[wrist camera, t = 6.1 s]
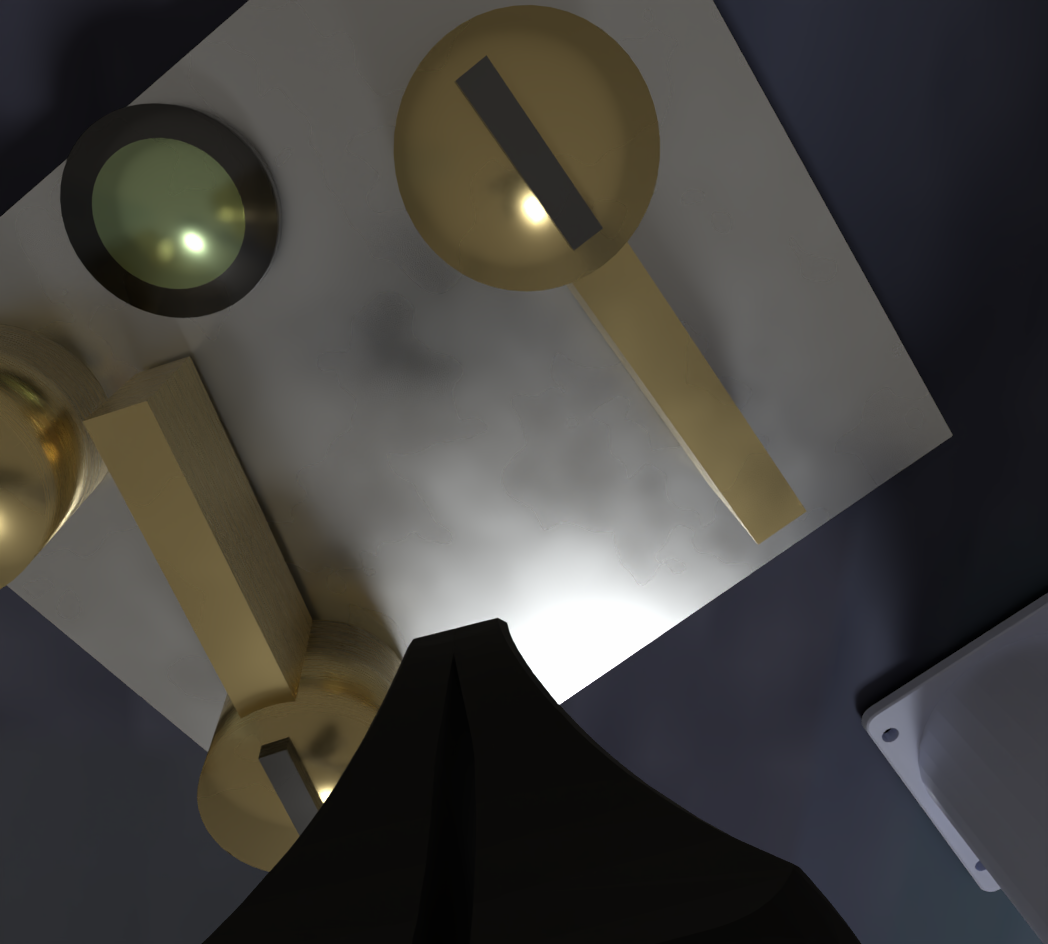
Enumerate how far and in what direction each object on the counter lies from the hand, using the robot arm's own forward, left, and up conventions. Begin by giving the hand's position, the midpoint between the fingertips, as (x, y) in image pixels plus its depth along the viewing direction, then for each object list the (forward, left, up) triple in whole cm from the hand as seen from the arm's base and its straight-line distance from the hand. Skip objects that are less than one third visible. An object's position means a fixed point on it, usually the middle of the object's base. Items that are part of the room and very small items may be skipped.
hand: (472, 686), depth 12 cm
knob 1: (0, +5, -8) cm, 10 cm away
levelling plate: (+1, 0, -10) cm, 10 cm away
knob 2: (+1, -5, -8) cm, 10 cm away
